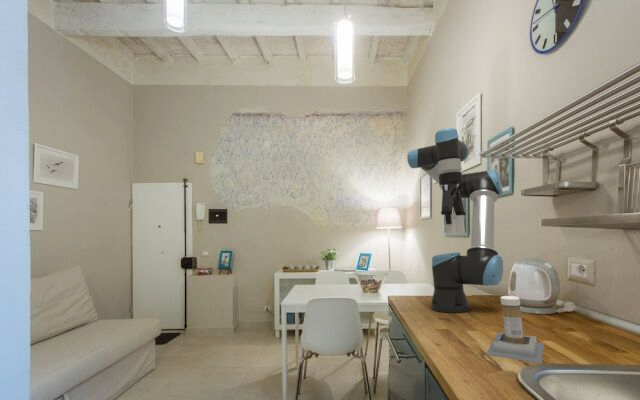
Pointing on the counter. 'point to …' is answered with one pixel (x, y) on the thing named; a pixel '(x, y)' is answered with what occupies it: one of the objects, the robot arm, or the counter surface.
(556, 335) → the counter surface
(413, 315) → the counter surface
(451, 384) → the counter surface
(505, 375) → the counter surface
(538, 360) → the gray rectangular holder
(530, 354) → the metal collar
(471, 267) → the robot arm
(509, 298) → the sprinkles bottle
